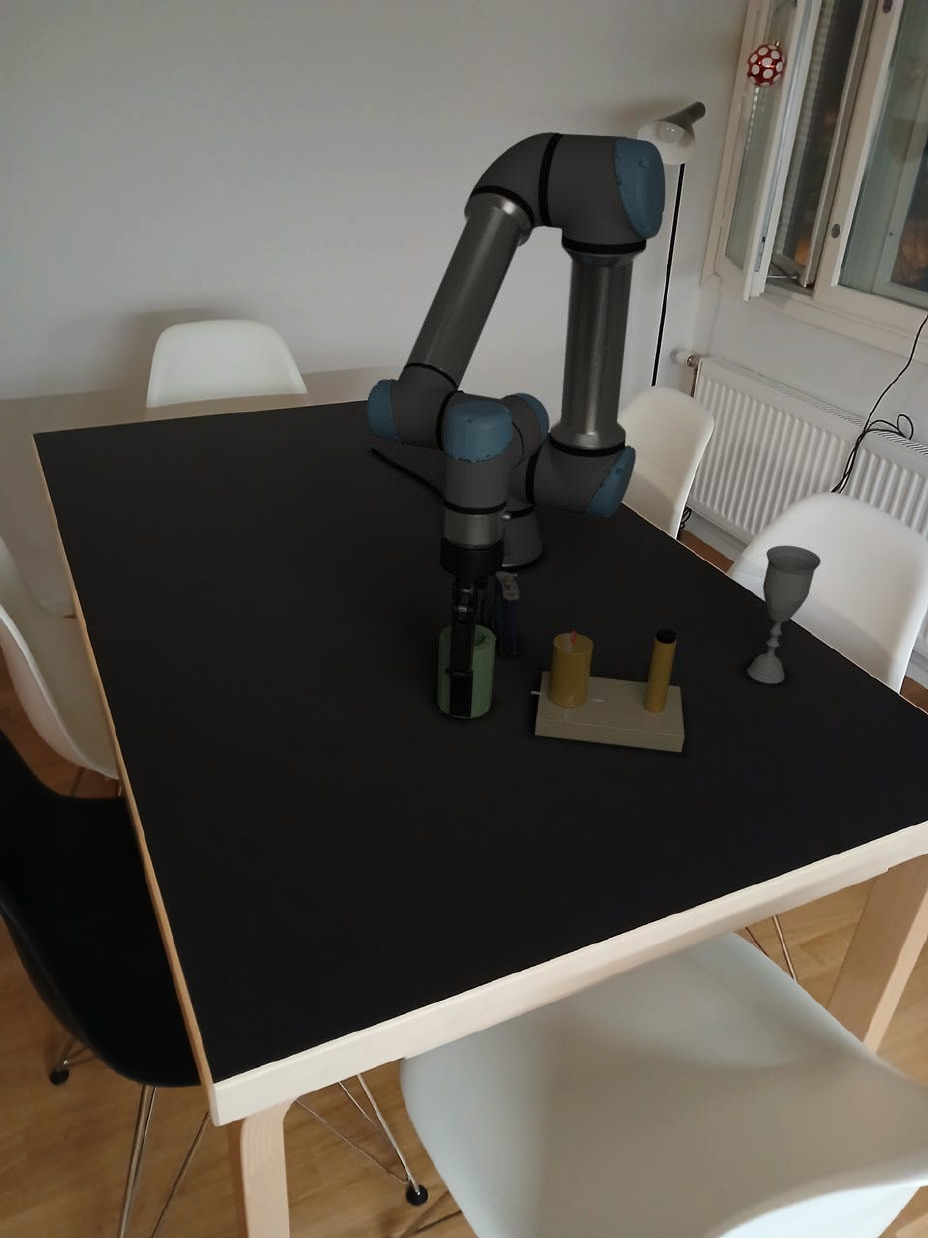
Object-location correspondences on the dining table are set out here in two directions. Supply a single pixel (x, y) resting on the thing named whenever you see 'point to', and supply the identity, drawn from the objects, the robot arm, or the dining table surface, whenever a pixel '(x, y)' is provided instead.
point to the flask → (506, 612)
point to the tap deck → (613, 716)
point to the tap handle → (570, 669)
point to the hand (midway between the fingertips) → (464, 697)
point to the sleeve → (480, 666)
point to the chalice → (783, 601)
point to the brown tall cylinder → (660, 670)
